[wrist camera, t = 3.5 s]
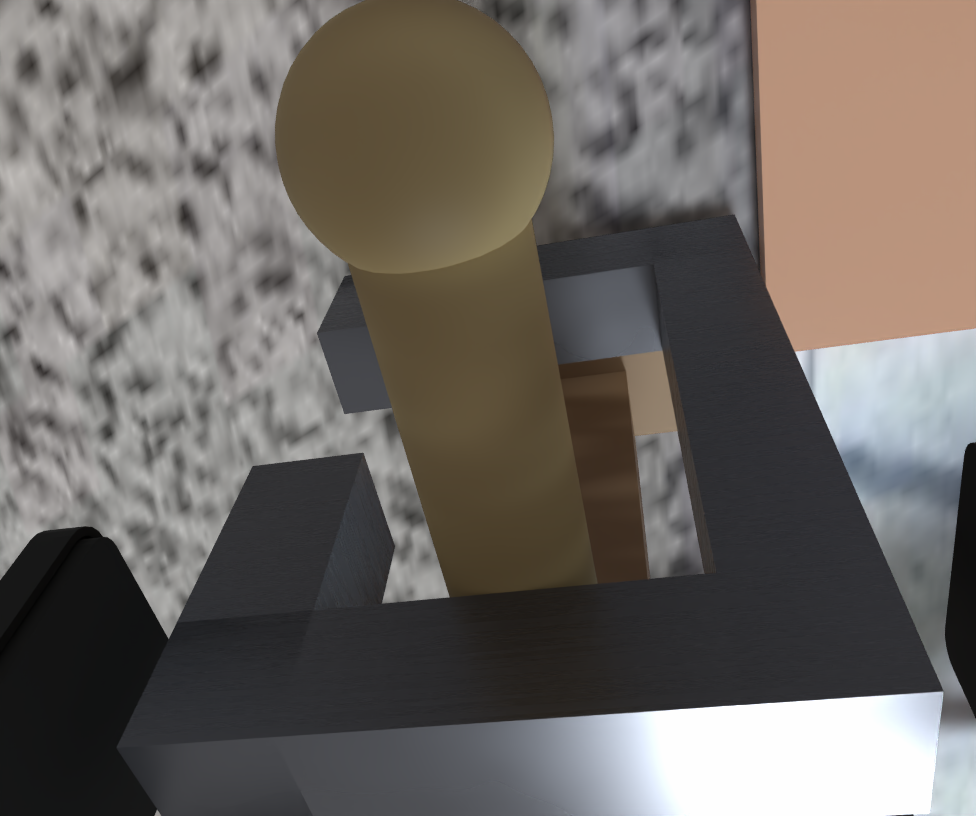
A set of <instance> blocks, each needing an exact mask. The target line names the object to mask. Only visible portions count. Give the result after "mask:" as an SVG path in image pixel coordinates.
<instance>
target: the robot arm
mask: <svg viewBox="0 0 976 816" xmlns="http://www.w3.org/2000/svg"><path fill="white" fill-rule="evenodd" d="M168 640H169V639H168V637H167V636H166V634H165V632H164V630H163V628H162V627H161V625H160V623H159V621H158V619H157V618H156V616H155V614H154V612H153V611H152V609H151V607H150V605H149V603H148V602H147V600H146V598H145V596H144V594H143V593H142V591H141V589H140V587H139V585H138V584H137V582H136V580H135V578H134V577H133V575H132V573H131V571H130V569H129V568H128V566H127V564H126V562H125V560H124V559H123V557H122V555H121V553H120V551H119V550H118V548H117V546H116V545H115V543H114V542H113V541H112V540H111V539H109V538H108V537H103V536H102V535H101V534H100V532H99V531H97V530H96V529H94V528H93V527H86V526H84V527H75V528H66V529H57V530H48V531H43V532H40V533H38V534H36V535H35V536H34V537H33V538H32V539H31V540H30V542H29V543H28V544H27V546H26V547H25V548H24V550H23V551H22V552H21V554H20V555H19V556H18V558H17V559H16V560H15V562H14V563H13V564H12V566H11V567H10V568H9V570H8V571H7V572H6V573H5V575H4V576H3V577H2V579H1V580H0V816H154V815H155V813H156V811H157V808H156V807H155V805H154V804H153V802H152V801H151V799H150V798H149V796H148V795H147V793H146V792H145V790H144V789H143V787H142V786H141V784H140V783H139V781H138V780H137V778H136V777H135V775H134V774H133V772H132V771H131V769H130V768H129V766H128V765H127V763H126V762H125V760H124V759H123V757H122V756H121V754H120V753H119V751H118V750H117V748H116V747H117V745H118V743H119V741H120V739H121V737H122V735H123V733H124V731H125V729H126V727H127V725H128V723H129V721H130V719H131V716H132V714H133V712H134V710H135V708H136V706H137V704H138V702H139V700H140V698H141V696H142V694H143V692H144V690H145V688H146V685H147V683H148V681H149V679H150V677H151V675H152V673H153V671H154V669H155V667H156V665H157V663H158V661H159V659H160V657H161V654H162V652H163V650H164V648H165V646H166V644H167V642H168ZM945 640H946V647H947V652H948V655H949V659H950V662H951V665H952V667H953V670H954V672H955V674H956V676H957V678H958V681H959V683H960V685H961V687H962V689H963V692H964V694H965V696H966V698H967V700H968V703H969V705H970V707H971V709H972V711H973V714H974V716H975V718H976V442H975V443H970V444H968V445H967V447H966V449H965V454H964V462H963V471H962V480H961V489H960V498H959V507H958V516H957V525H956V534H955V544H954V553H953V562H952V571H951V580H950V589H949V598H948V607H947V616H946V625H945Z"/></svg>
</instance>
